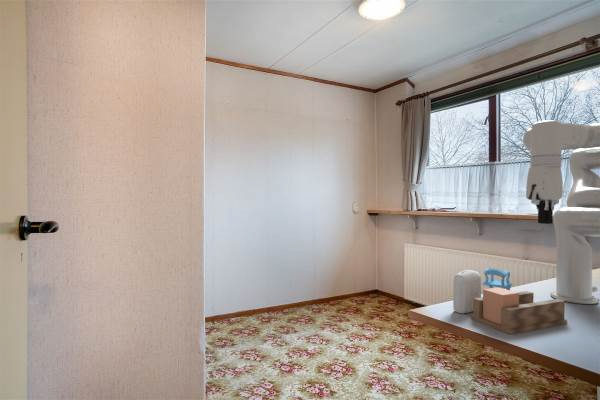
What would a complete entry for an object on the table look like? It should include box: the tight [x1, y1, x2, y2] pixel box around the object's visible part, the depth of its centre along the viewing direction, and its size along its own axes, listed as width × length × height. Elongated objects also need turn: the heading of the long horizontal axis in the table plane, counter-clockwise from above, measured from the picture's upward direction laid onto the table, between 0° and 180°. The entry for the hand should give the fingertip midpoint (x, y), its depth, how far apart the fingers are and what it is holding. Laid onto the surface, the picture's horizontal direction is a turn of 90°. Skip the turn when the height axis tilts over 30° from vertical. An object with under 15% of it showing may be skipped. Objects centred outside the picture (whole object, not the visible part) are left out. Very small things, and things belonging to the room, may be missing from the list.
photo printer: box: [452, 269, 482, 314], centre depth 103 cm, size 10×4×12 cm, turn 123°
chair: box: [482, 267, 513, 291], centre depth 109 cm, size 8×8×12 cm
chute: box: [470, 290, 568, 335], centre depth 94 cm, size 22×12×6 cm, turn 111°
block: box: [482, 287, 519, 325], centre depth 92 cm, size 6×6×8 cm
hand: (545, 223), depth 101 cm, fingers closed
